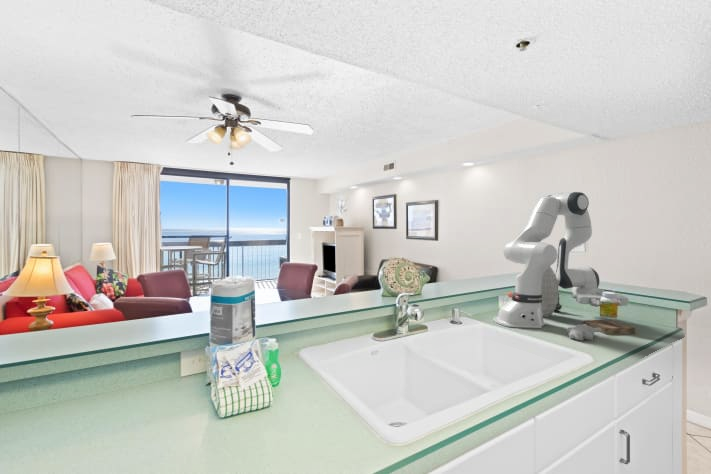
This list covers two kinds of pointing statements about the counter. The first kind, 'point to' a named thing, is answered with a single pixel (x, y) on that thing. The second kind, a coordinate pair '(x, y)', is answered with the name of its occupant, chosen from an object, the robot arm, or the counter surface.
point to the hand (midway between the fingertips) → (610, 303)
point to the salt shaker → (558, 306)
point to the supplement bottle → (609, 306)
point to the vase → (549, 292)
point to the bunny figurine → (582, 332)
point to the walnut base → (610, 326)
